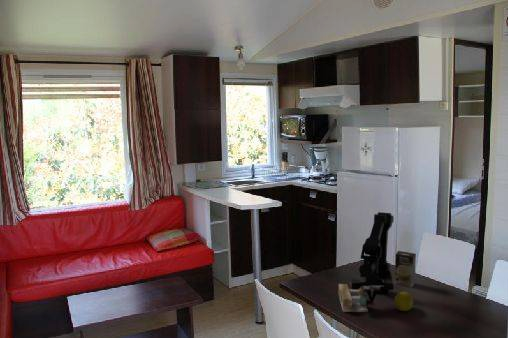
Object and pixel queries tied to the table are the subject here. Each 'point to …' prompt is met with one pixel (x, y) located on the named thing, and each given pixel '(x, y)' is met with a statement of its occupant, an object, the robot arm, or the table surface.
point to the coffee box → (405, 268)
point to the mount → (349, 301)
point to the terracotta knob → (356, 292)
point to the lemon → (403, 301)
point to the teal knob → (359, 299)
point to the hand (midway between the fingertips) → (371, 302)
